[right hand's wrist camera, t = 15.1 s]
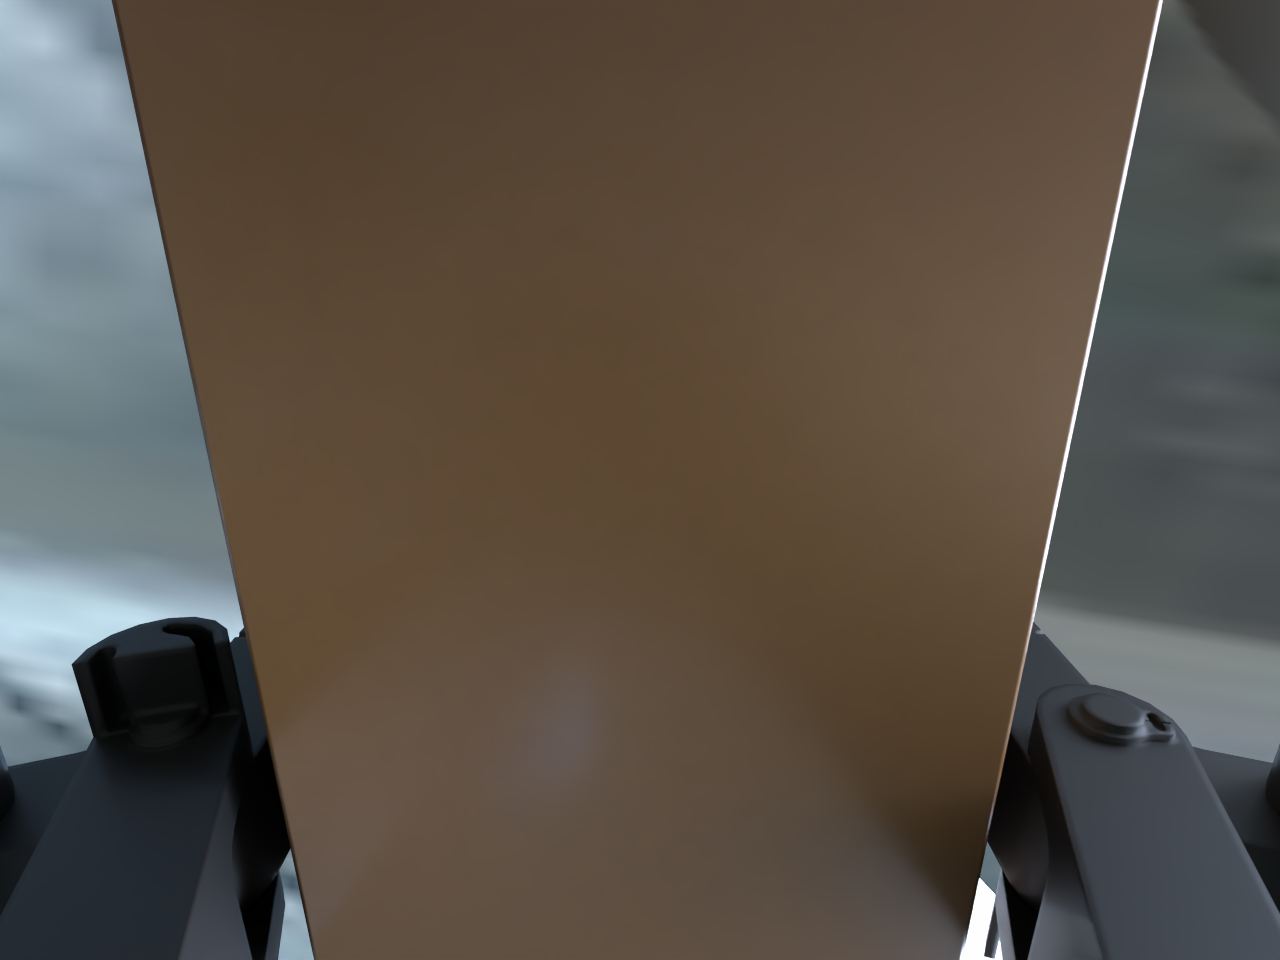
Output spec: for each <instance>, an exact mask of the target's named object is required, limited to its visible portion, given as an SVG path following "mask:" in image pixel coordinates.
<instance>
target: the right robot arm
mask: <svg viewBox="0 0 1280 960" xmlns="http://www.w3.org/2000/svg"><path fill="white" fill-rule="evenodd" d="M72 667H73V671H74V674H75V677H76V680H77V684H78V687H79V690H80V694H81V697H82V700H83V704H84V707H85V710H86V713H87V717H88V720H89V723H90V727H91V730H92V733H93V739H92V741H91V743H90V745H89V747H88V749H87V751H83V752H79V753H75V754H70V755H65V756H59V757H54V758H49V759H44V760H39V761H34V762H29V763H24V764H19V765H14V766H9V767H7V764H6V761H5V758H4V756H3V753H2V750H1V747H0V960H278V955H279V947H280V940H281V932H282V925H283V917H284V910H285V900H284V892H283V886H282V881H281V877H280V872H279V869H280V867H281V865H282V864H283V862H284V860H285V858H286V856H287V854H288V852H289V850H290V848H291V847H290V842H289V838H288V833H287V828H286V824H285V819H284V814H283V809H282V805H281V800H280V795H279V790H278V786H277V781H276V776H275V771H274V767H273V762H272V757H271V752H270V748H269V743H268V738H267V733H266V729H265V724H264V719H263V714H262V710H261V705H260V700H259V696H258V691H257V686H256V681H255V677H254V672H253V667H252V662H251V658H250V653H249V648H248V643H247V639H246V634H245V629H244V628H243V629H242V630H241V631H240V633H239V637H235V638H234V639H233V640H232V642H231V643H230V641H229V636H228V631H227V629H226V628H225V627H223V626H222V625H221V624H219V623H218V622H217V621H215V620H209V619H204V618H198V617H183V618H167V619H163V620H158V621H154V622H149V623H144V624H140V625H137V626H134V627H132V628H129V629H126V630H124V631H121V632H118V633H115V634H113V635H110V636H109V637H107V638H105V639H104V640H102V641H100V642H98V643H97V644H95V645H93V646H91V647H90V648H88V649H87V650H86V651H85V652H84V653H83V654H82V655H81V656H80V657H79V658H78V659H77V660H76V661H75V662H74V663H73V664H72ZM987 841H988V843H989V845H990V847H991V849H992V851H993V853H994V855H995V857H996V858H997V860H998V862H999V864H1000V866H1001V872H1000V877H999V881H998V886H997V891H996V895H995V900H994V905H993V909H992V914H991V918H990V923H989V928H988V932H987V937H986V943H985V950H984V957H988V958H992V959H995V956H996V952H997V947H998V943H999V941H1000V945H1001V953H1002V960H1280V745H1279V748H1278V751H1277V753H1276V756H1275V759H1274V762H1273V763H1269V762H1264V761H1259V760H1254V759H1249V758H1244V757H1239V756H1234V755H1229V754H1224V753H1219V752H1214V751H1209V750H1204V749H1200V748H1196V747H1192V745H1191V743H1190V742H1189V740H1188V738H1187V736H1186V735H1185V734H1184V732H1183V731H1182V730H1181V729H1180V728H1179V726H1178V725H1177V724H1176V723H1175V722H1174V720H1173V719H1172V718H1170V717H1169V716H1167V715H1166V714H1164V713H1163V712H1161V711H1160V710H1158V709H1157V708H1155V707H1154V706H1153V705H1151V704H1149V703H1147V702H1145V701H1143V700H1140V699H1138V698H1136V697H1133V696H1131V695H1129V694H1127V693H1124V692H1121V691H1117V690H1113V689H1109V688H1105V687H1101V686H1097V685H1090V684H1089V683H1088V682H1087V681H1086V680H1085V678H1084V677H1083V676H1082V675H1081V674H1080V673H1079V672H1078V671H1077V670H1076V668H1075V667H1074V666H1073V665H1072V664H1071V663H1070V662H1069V661H1068V660H1067V658H1066V657H1065V656H1064V655H1063V654H1062V653H1061V652H1060V651H1059V650H1058V648H1057V647H1056V646H1055V645H1054V644H1053V643H1052V642H1051V641H1050V640H1049V638H1048V637H1047V636H1046V635H1045V634H1041V630H1040V628H1039V627H1038V626H1037V625H1036V624H1035V623H1034V622H1033V624H1032V629H1031V634H1030V639H1029V644H1028V648H1027V653H1026V658H1025V663H1024V667H1023V672H1022V677H1021V682H1020V687H1019V691H1018V696H1017V701H1016V706H1015V711H1014V715H1013V720H1012V725H1011V730H1010V734H1009V739H1008V744H1007V749H1006V754H1005V758H1004V763H1003V768H1002V773H1001V778H1000V782H999V787H998V792H997V797H996V801H995V806H994V811H993V816H992V821H991V825H990V830H989V835H988V840H987Z"/></svg>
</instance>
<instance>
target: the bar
mask: <svg viewBox="0 0 1280 960" xmlns="http://www.w3.org/2000/svg"><path fill="white" fill-rule="evenodd" d="M1162 2H1163V0H112V3H113V8H114V13H115V18H116V22H117V27H118V32H119V37H120V41H121V46H122V51H123V56H124V60H125V65H126V70H127V75H128V79H129V84H130V89H131V94H132V98H133V103H134V108H135V112H136V117H137V122H138V127H139V131H140V136H141V141H142V146H143V150H144V155H145V160H146V165H147V169H148V174H149V179H150V184H151V188H152V193H153V198H154V203H155V207H156V212H157V217H158V221H159V226H160V231H161V236H162V240H163V245H164V250H165V255H166V259H167V264H168V269H169V274H170V278H171V283H172V288H173V293H174V297H175V302H176V307H177V312H178V316H179V321H180V326H181V331H182V335H183V340H184V345H185V349H186V354H187V359H188V364H189V368H190V373H191V378H192V383H193V387H194V392H195V397H196V402H197V406H198V411H199V416H200V421H201V425H202V430H203V435H204V440H205V444H206V449H207V454H208V459H209V463H210V468H211V473H212V477H213V482H214V487H215V492H216V496H217V501H218V506H219V511H220V515H221V520H222V525H223V530H224V534H225V539H226V544H227V549H228V553H229V558H230V563H231V568H232V572H233V577H234V582H235V586H236V591H237V596H238V601H239V605H240V610H241V615H242V620H243V624H244V629H245V634H246V639H247V643H248V648H249V653H250V658H251V662H252V667H253V672H254V677H255V681H256V686H257V691H258V696H259V700H260V705H261V710H262V714H263V719H264V724H265V729H266V733H267V738H268V743H269V748H270V752H271V757H272V762H273V767H274V771H275V776H276V781H277V786H278V790H279V795H280V800H281V805H282V809H283V814H284V819H285V824H286V828H287V833H288V838H289V842H290V847H291V852H292V857H293V861H294V866H295V871H296V876H297V880H298V885H299V890H300V895H301V899H302V904H303V909H304V914H305V918H306V923H307V928H308V933H309V937H310V942H311V947H312V952H313V956H314V960H962V959H963V955H964V950H965V945H966V940H967V935H968V931H969V926H970V921H971V916H972V912H973V907H974V902H975V897H976V892H977V888H978V883H979V878H980V873H981V868H982V864H983V859H984V854H985V849H986V845H987V840H988V835H989V830H990V825H991V821H992V816H993V811H994V806H995V801H996V797H997V792H998V787H999V782H1000V778H1001V773H1002V768H1003V763H1004V758H1005V754H1006V749H1007V744H1008V739H1009V734H1010V730H1011V725H1012V720H1013V715H1014V711H1015V706H1016V701H1017V696H1018V691H1019V687H1020V682H1021V677H1022V672H1023V667H1024V663H1025V658H1026V653H1027V648H1028V644H1029V639H1030V634H1031V629H1032V624H1033V620H1034V615H1035V610H1036V605H1037V600H1038V596H1039V591H1040V586H1041V581H1042V577H1043V572H1044V567H1045V562H1046V557H1047V553H1048V548H1049V543H1050V538H1051V533H1052V529H1053V524H1054V519H1055V514H1056V510H1057V505H1058V500H1059V495H1060V490H1061V486H1062V481H1063V476H1064V471H1065V466H1066V462H1067V457H1068V452H1069V447H1070V443H1071V438H1072V433H1073V428H1074V423H1075V419H1076V414H1077V409H1078V404H1079V399H1080V395H1081V390H1082V385H1083V380H1084V376H1085V371H1086V366H1087V361H1088V356H1089V352H1090V347H1091V342H1092V337H1093V332H1094V328H1095V323H1096V318H1097V313H1098V309H1099V304H1100V299H1101V294H1102V289H1103V285H1104V280H1105V275H1106V270H1107V265H1108V261H1109V256H1110V251H1111V246H1112V242H1113V237H1114V232H1115V227H1116V222H1117V218H1118V213H1119V208H1120V203H1121V198H1122V194H1123V189H1124V184H1125V179H1126V175H1127V170H1128V165H1129V160H1130V155H1131V151H1132V146H1133V141H1134V136H1135V131H1136V127H1137V122H1138V117H1139V112H1140V108H1141V103H1142V98H1143V93H1144V88H1145V84H1146V79H1147V74H1148V69H1149V64H1150V60H1151V55H1152V50H1153V45H1154V41H1155V36H1156V31H1157V26H1158V21H1159V17H1160V12H1161V7H1162Z"/></svg>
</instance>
